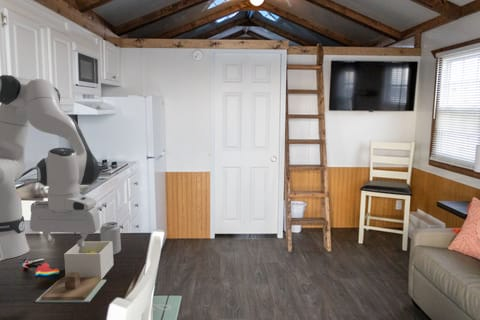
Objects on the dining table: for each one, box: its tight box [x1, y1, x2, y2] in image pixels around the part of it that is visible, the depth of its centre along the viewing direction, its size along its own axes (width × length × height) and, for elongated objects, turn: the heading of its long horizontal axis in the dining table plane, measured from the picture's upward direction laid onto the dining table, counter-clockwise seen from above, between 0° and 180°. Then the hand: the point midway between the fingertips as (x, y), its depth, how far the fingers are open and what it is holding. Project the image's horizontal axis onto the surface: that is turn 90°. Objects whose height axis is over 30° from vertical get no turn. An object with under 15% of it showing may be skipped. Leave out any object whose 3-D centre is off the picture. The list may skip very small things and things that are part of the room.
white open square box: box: [63, 240, 114, 280], centre depth 129 cm, size 12×12×9 cm
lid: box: [41, 272, 102, 300], centre depth 116 cm, size 13×13×5 cm
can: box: [99, 221, 122, 256], centre depth 147 cm, size 8×8×12 cm
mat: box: [34, 279, 107, 303], centre depth 116 cm, size 16×14×1 cm
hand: (65, 245), depth 113 cm, fingers open, 8 cm apart
